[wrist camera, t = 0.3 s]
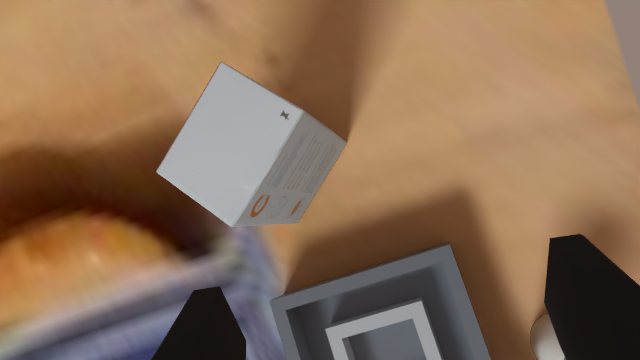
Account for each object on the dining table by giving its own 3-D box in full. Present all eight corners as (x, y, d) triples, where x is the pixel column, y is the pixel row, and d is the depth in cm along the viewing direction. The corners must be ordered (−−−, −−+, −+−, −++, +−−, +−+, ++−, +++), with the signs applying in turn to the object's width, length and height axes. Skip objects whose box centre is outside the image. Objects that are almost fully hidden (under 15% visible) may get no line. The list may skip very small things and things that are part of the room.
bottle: (598, 360, 36) (638, 397, 28) (541, 374, 36) (566, 414, 29) (577, 305, 36) (610, 327, 29) (521, 320, 37) (540, 345, 30)
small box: (286, 104, 43) (220, 56, 30) (348, 142, 41) (307, 109, 28) (237, 185, 43) (152, 172, 31) (297, 225, 42) (233, 229, 29)
